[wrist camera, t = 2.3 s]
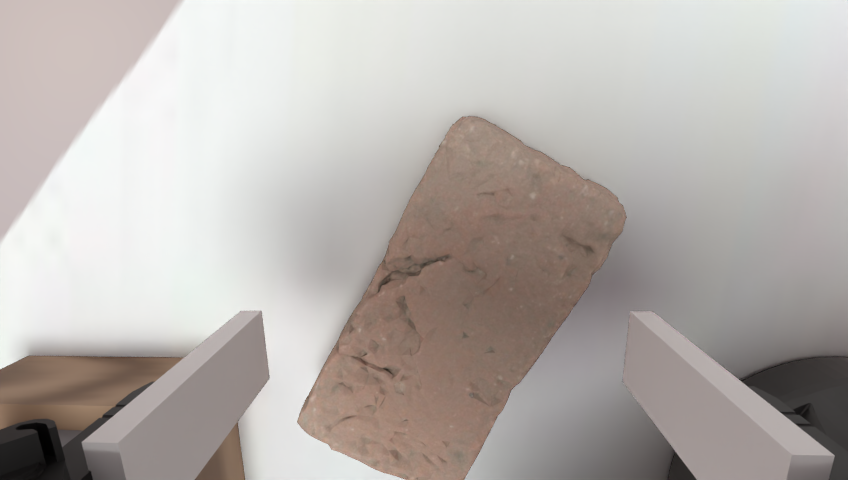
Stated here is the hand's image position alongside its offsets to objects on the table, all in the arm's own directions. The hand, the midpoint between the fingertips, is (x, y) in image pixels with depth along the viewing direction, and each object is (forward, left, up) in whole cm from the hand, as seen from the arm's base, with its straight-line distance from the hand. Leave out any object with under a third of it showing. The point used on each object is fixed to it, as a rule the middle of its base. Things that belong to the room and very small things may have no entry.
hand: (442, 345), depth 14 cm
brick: (0, +1, -7) cm, 7 cm away
